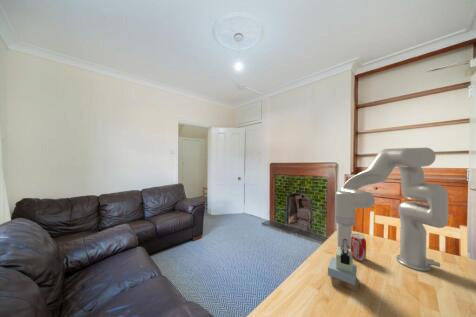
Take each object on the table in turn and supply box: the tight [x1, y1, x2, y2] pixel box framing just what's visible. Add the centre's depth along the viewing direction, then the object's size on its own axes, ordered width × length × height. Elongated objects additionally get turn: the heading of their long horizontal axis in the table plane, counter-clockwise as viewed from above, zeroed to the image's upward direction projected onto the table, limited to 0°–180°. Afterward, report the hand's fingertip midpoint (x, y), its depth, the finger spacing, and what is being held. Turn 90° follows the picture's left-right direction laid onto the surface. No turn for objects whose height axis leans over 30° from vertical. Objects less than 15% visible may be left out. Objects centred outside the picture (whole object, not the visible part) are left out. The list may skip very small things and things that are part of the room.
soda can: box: [349, 233, 367, 262], centre depth 97 cm, size 7×7×12 cm
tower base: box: [329, 276, 361, 292], centre depth 79 cm, size 10×10×4 cm
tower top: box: [327, 256, 358, 285], centre depth 79 cm, size 10×10×4 cm
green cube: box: [335, 248, 354, 272], centre depth 79 cm, size 6×6×6 cm
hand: (344, 257), depth 79 cm, fingers open, 9 cm apart
